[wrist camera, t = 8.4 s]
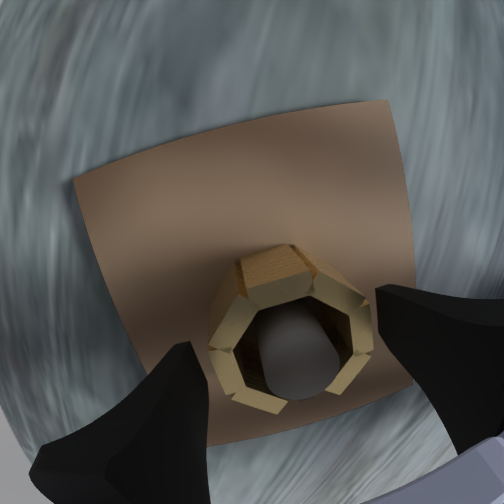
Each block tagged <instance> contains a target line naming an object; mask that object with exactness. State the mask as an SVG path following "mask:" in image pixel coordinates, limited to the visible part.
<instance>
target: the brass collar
mask: <svg viewBox="0 0 504 504" xmlns="http://www.w3.org/2000/svg"><path fill="white" fill-rule="evenodd" d="M240 261H241V265H240V264H239V263H237V262H235V261H234V262H233V264H232V265H231V267H230V269H229V271H228V272H227V274H226V276H225V278H224V279H223V281H222V283H221V285H220V286H219V288H218V290H217V291H216V293H215V295H214V297H213V298H212V300H211V308H210V321H209V334H208V349H207V353H208V355H209V358H210V360H211V362H212V365H213V367H214V369H215V372H216V374H217V376H218V379H219V381H220V383H221V385H222V388H223V390H224V392H225V394H226V395H228V394H231V400H234V401H237V402H240V403H243V404H246V405H249V406H252V407H255V408H258V409H261V410H264V411H267V412H271V413H274V414H278V413H279V412H280V411H281V409H282V408H283V407H284V406H285V405H286V404H287V403H288V399H285V398H282V397H279V396H277V395H276V394H274V393H273V392H272V391H271V390H270V389H269V387H268V386H267V384H266V380H265V375H264V371H263V366H262V361H261V356H260V351H259V347H258V345H257V344H254V343H252V342H250V341H247V340H245V339H243V338H241V337H242V335H243V333H244V332H245V330H246V329H247V327H248V326H249V324H250V323H251V321H252V319H253V318H254V316H255V315H256V313H257V312H258V310H262V309H265V308H269V307H272V306H276V305H279V304H282V303H286V302H289V301H293V300H296V299H299V298H303V297H306V296H309V295H310V296H312V297H314V298H316V299H318V300H320V301H322V302H323V303H324V308H325V313H324V315H323V316H322V318H321V319H320V321H319V324H320V325H321V327H322V329H323V330H324V332H325V334H326V335H327V337H328V338H329V340H330V342H331V343H332V345H333V347H334V348H335V350H336V352H337V353H338V356H339V359H340V367H339V371H338V374H337V376H336V378H335V379H334V381H333V382H332V383H331V384H330V385H329V386H328V387H327V388H326V389H325V390H326V391H329V392H332V393H335V394H338V395H340V394H341V393H342V392H343V391H344V390H345V389H346V387H347V386H348V385H349V384H350V383H351V381H352V380H353V379H354V378H355V377H356V375H357V374H358V373H359V372H360V370H361V369H362V368H363V367H364V365H365V364H366V363H367V361H368V360H369V359H370V358H371V355H370V354H369V353H368V352H369V351H372V350H374V347H373V333H372V320H371V310H370V303H369V302H368V301H367V300H366V297H365V296H364V295H363V294H362V293H361V292H360V291H359V290H358V289H356V288H355V287H354V286H353V285H352V284H351V283H350V282H349V281H348V280H347V279H346V278H345V277H343V276H342V275H341V274H340V273H339V272H338V271H337V270H336V269H335V268H334V267H332V266H331V265H329V264H328V263H326V262H324V261H322V260H321V259H319V258H317V257H316V256H314V255H312V254H310V253H309V252H307V251H305V250H303V249H302V248H300V247H298V246H297V245H295V244H294V245H293V247H292V248H291V247H290V246H289V245H288V244H287V243H286V244H283V245H279V246H276V247H272V248H269V249H265V250H262V251H258V252H255V253H251V254H247V255H244V256H240Z"/></svg>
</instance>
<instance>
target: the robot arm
mask: <svg viewBox="0 0 504 504" xmlns="http://www.w3.org/2000/svg"><path fill="white" fill-rule="evenodd" d="M375 295H376V307H377V322H378V333H379V335H380V336H381V338H382V340H383V341H384V343H385V344H386V346H387V347H388V349H389V351H390V352H391V353H392V354H393V355H394V356H395V358H396V359H397V360H398V361H399V362H400V364H401V365H402V366H403V367H404V368H405V369H406V370H407V372H408V373H409V374H410V375H411V376H412V377H413V379H414V380H415V381H416V382H417V383H418V384H419V386H420V387H421V388H422V390H423V391H424V392H425V394H426V396H427V397H428V399H429V400H430V402H431V403H432V405H433V407H434V408H435V410H436V412H437V414H438V415H439V417H440V419H441V421H442V423H443V424H444V426H445V428H446V430H447V432H448V434H449V436H450V438H451V440H452V443H453V445H454V447H455V449H456V452H457V454H458V456H457V457H455V458H454V459H452V460H450V461H449V462H447V463H445V464H444V465H442V466H440V467H438V468H437V469H435V470H433V471H431V472H429V473H427V474H426V475H424V476H422V477H420V478H418V479H416V480H414V481H412V482H410V483H408V484H406V485H404V486H401V487H399V488H397V489H395V490H393V491H390V492H388V493H386V494H383V495H381V496H379V497H376V498H374V499H371V500H369V501H366V502H363V503H361V504H504V299H469V298H459V297H452V296H446V295H441V294H436V293H431V292H426V291H422V290H418V289H414V288H409V287H405V286H400V285H395V284H386V285H383V286H380V287H378V288H375ZM208 418H209V391H208V381H207V379H206V377H205V374H204V372H203V370H202V368H201V365H200V363H199V361H198V358H197V356H196V354H195V351H194V349H193V346H192V344H191V341H187V342H182V343H177V344H175V345H174V346H173V347H172V348H171V349H170V350H169V351H168V352H167V353H166V354H165V356H164V357H163V358H162V359H161V360H160V362H159V363H158V364H157V365H156V366H155V367H154V369H153V370H152V371H151V372H150V373H149V374H148V375H147V376H146V378H145V379H144V380H143V381H142V382H141V383H140V384H139V385H138V386H137V387H136V388H135V389H134V390H133V391H132V392H131V393H130V394H129V395H128V396H127V397H126V398H124V399H123V400H122V401H121V402H120V403H118V404H117V405H116V406H115V407H114V408H112V409H111V410H109V411H108V412H107V413H105V414H104V415H102V416H101V417H99V418H98V419H96V420H95V421H93V422H92V423H90V424H88V425H87V426H85V427H83V428H81V429H80V430H78V431H76V432H74V433H72V434H70V435H67V436H65V437H63V438H60V439H58V440H55V441H53V442H50V443H48V444H45V445H42V446H41V448H40V450H39V452H38V454H37V456H36V458H35V461H34V463H33V465H32V467H31V469H30V471H29V476H30V479H31V481H32V482H33V484H34V486H35V487H36V488H37V489H38V490H39V491H40V492H41V493H42V494H43V495H44V496H46V497H47V498H48V499H49V500H50V501H51V502H53V503H54V504H211V502H210V494H209V485H208V475H207V462H206V448H207V432H208Z"/></svg>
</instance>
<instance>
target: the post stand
mask: <svg viewBox="0 0 504 504" xmlns="http://www.w3.org/2000/svg"><path fill="white" fill-rule="evenodd" d="M73 183H74V187H75V191H76V195H77V198H78V202H79V206H80V209H81V213H82V216H83V219H84V222H85V226H86V229H87V232H88V235H89V238H90V241H91V244H92V247H93V250H94V253H95V256H96V259H97V261H98V264H99V267H100V269H101V272H102V275H103V277H104V280H105V283H106V285H107V288H108V290H109V293H110V295H111V298H112V300H113V302H114V305H115V307H116V309H117V312H118V314H119V316H120V319H121V321H122V323H123V325H124V327H125V330H126V332H127V334H128V336H129V338H130V340H131V342H132V345H133V347H134V349H135V351H136V353H137V355H138V357H139V359H140V361H141V363H142V365H143V367H144V368H145V370H146V372H147V374H149V373H150V372H151V371H152V370H153V369H154V367H155V366H156V365H157V364H158V363H159V362H160V360H161V359H162V358H163V357H164V356H165V354H166V353H167V352H168V351H169V350H170V349H171V348H172V347H173V346H174V345H175V344H177V343H182V342H187V341H191V344H192V346H193V349H194V351H195V354H196V356H197V358H198V361H199V363H200V365H201V368H202V370H203V372H204V374H205V377H206V379H207V381H208V391H209V418H208V432H207V446H214V445H220V444H226V443H232V442H237V441H242V440H247V439H252V438H257V437H261V436H266V435H270V434H274V433H278V432H282V431H286V430H290V429H293V428H297V427H301V426H304V425H308V424H311V423H314V422H317V421H321V420H324V419H327V418H330V417H333V416H336V415H339V414H342V413H345V412H347V411H350V410H353V409H356V408H358V407H361V406H364V405H366V404H369V403H371V402H374V401H376V400H379V399H381V398H383V397H386V396H388V395H390V394H393V393H395V392H397V391H400V390H402V389H404V388H406V387H408V386H410V385H412V384H413V377H412V376H411V375H410V374H409V373H408V372H407V370H406V369H405V368H404V367H403V366H402V365H401V364H400V362H399V361H398V360H397V359H396V358H395V356H394V355H393V354H392V353H391V352H390V351H389V349H388V347H387V346H386V344H385V343H384V341H383V340H382V338H381V336H380V335H379V333H378V322H377V307H376V295H375V288H378V287H380V286H383V285H386V284H395V285H400V286H405V287H409V288H414V289H416V283H415V262H414V247H413V236H412V226H411V217H410V209H409V201H408V194H407V187H406V181H405V175H404V169H403V164H402V158H401V153H400V148H399V144H398V139H397V134H396V130H395V126H394V122H393V118H392V114H391V110H390V106H389V102H388V100H376V101H366V102H356V103H347V104H339V105H332V106H325V107H318V108H312V109H306V110H300V111H294V112H289V113H283V114H278V115H273V116H268V117H264V118H259V119H254V120H250V121H246V122H241V123H237V124H233V125H229V126H225V127H221V128H217V129H213V130H210V131H206V132H202V133H199V134H195V135H192V136H188V137H185V138H182V139H178V140H175V141H172V142H169V143H166V144H163V145H160V146H156V147H153V148H151V149H148V150H145V151H142V152H139V153H136V154H133V155H131V156H128V157H125V158H122V159H120V160H117V161H115V162H112V163H109V164H107V165H104V166H102V167H99V168H97V169H94V170H92V171H90V172H87V173H85V174H82V175H80V176H78V177H76V178H73ZM286 243H287V244H288V245H289V246H290V247H291V248H292V247H293V245H294V244H295V245H297V246H298V247H300V248H302V249H303V250H305V251H307V252H309V253H310V254H312V255H314V256H316V257H317V258H319V259H321V260H322V261H324V262H326V263H328V264H329V265H331V266H332V267H334V268H335V269H336V270H337V271H338V272H339V273H340V274H341V275H342V276H343V277H345V278H346V279H347V280H348V281H349V282H350V283H351V284H352V285H353V286H354V287H355V288H356V289H358V290H359V291H360V292H361V293H362V294H363V295H364V296H365V297H366V300H367V301H368V302H369V303H370V310H371V320H372V333H373V347H374V350H372V351H369V352H368V353H369V354H370V355H371V358H370V359H369V360H368V361H367V363H366V364H365V365H364V367H363V368H362V369H361V370H360V372H359V373H358V374H357V375H356V377H355V378H354V379H353V380H352V381H351V383H350V384H349V385H348V386H347V387H346V389H345V390H344V391H343V392H342V393H341V394H340V395H338V394H335V393H332V392H329V391H326V390H325V389H326V388H327V387H328V386H329V385H330V384H331V383H332V382H333V381H334V379H335V378H336V376H337V374H338V371H339V367H340V359H339V356H338V353H337V352H336V350H335V348H334V347H333V345H332V343H331V342H330V340H329V338H328V337H327V335H326V334H325V332H324V330H323V329H322V327H321V325H320V324H319V321H320V319H321V318H322V316H323V315H324V313H325V308H324V303H323V302H322V301H320V300H318V299H316V298H314V297H312V296H310V295H309V296H306V297H303V298H299V299H296V300H293V301H289V302H286V303H282V304H279V305H276V306H272V307H269V308H265V309H262V310H258V312H257V313H256V315H255V316H254V318H253V319H252V321H251V323H250V324H249V326H248V327H247V329H246V330H245V332H244V333H243V335H242V337H241V338H243V339H245V340H247V341H250V342H252V343H254V344H257V345H258V347H259V351H260V356H261V361H262V366H263V371H264V375H265V380H266V384H267V386H268V387H269V389H270V390H271V391H272V392H273V393H274V394H276V395H277V396H279V397H282V398H285V399H288V403H287V404H286V405H285V406H284V407H283V408H282V409H281V411H280V412H279V413H278V414H274V413H271V412H267V411H264V410H261V409H258V408H255V407H252V406H249V405H246V404H243V403H240V402H237V401H234V400H231V394H228V395H226V394H225V392H224V390H223V388H222V385H221V383H220V381H219V379H218V376H217V374H216V372H215V369H214V367H213V365H212V362H211V360H210V358H209V355H208V353H207V349H208V334H209V321H210V308H211V300H212V298H213V297H214V295H215V293H216V291H217V290H218V288H219V286H220V285H221V283H222V281H223V279H224V278H225V276H226V274H227V272H228V271H229V269H230V267H231V265H232V264H233V262H234V261H235V262H237V263H239V264H240V265H241V261H240V256H244V255H247V254H251V253H255V252H258V251H262V250H265V249H269V248H272V247H276V246H279V245H283V244H286Z"/></svg>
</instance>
